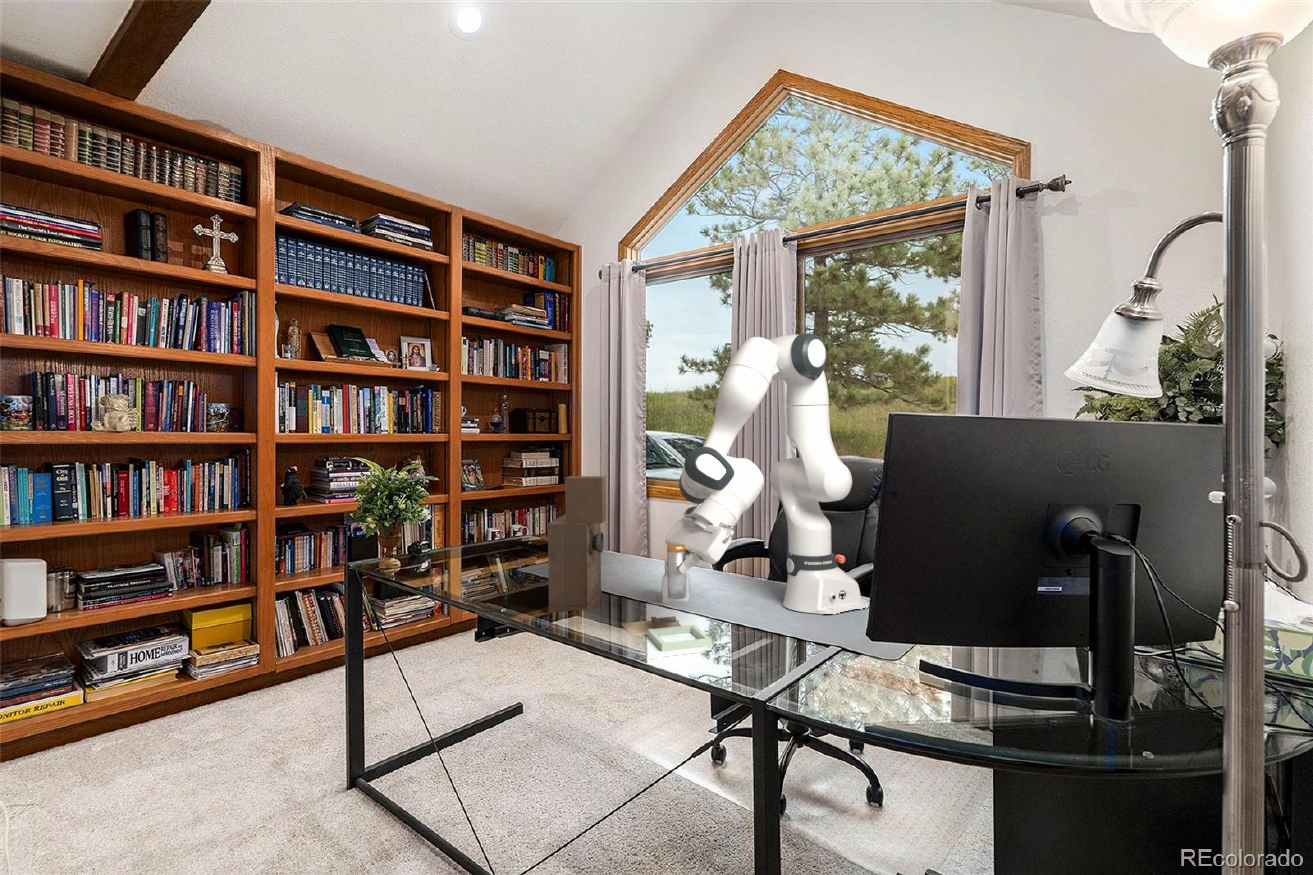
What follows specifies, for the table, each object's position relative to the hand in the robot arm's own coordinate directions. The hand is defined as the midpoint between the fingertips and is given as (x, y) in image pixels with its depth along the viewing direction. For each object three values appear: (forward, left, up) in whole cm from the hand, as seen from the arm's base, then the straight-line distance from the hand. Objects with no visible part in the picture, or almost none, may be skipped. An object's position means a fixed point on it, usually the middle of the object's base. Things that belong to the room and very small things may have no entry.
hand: (674, 569), depth 143 cm
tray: (-1, 0, -17) cm, 17 cm away
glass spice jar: (-1, 0, -6) cm, 6 cm away
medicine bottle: (-12, -35, -17) cm, 41 cm away
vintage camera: (+14, -40, -17) cm, 46 cm away
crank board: (+2, -11, -17) cm, 20 cm away
